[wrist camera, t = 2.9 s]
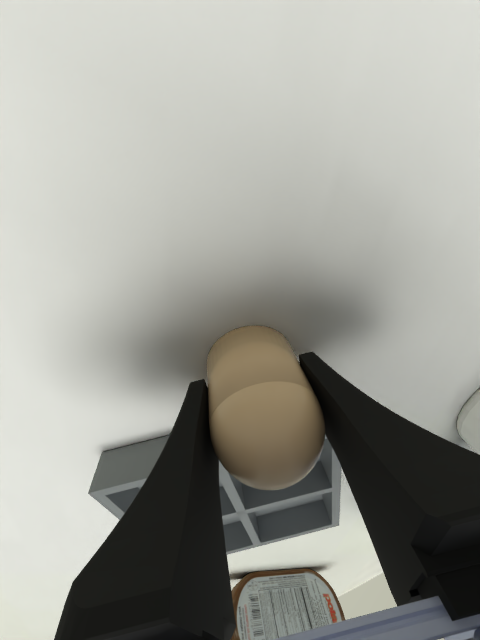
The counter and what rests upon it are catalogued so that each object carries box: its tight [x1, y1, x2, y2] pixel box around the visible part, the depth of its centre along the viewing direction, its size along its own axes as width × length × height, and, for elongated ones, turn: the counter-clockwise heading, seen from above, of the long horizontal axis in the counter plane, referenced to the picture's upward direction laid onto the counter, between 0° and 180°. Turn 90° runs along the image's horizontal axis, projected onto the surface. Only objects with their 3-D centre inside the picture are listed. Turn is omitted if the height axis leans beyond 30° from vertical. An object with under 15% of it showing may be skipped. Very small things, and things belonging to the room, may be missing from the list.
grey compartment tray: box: [88, 435, 341, 554], centre depth 18 cm, size 14×14×2 cm
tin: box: [231, 568, 345, 640], centre depth 29 cm, size 15×3×8 cm, turn 70°
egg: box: [207, 325, 325, 490], centre depth 10 cm, size 4×4×6 cm
